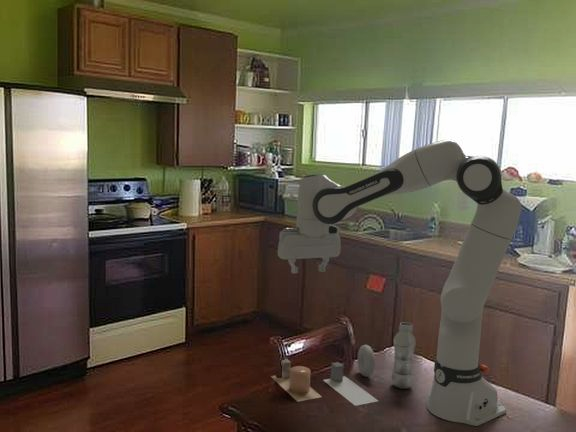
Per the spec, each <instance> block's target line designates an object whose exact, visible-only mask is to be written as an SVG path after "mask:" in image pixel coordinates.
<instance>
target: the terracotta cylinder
mask: <svg viewBox="0 0 576 432" xmlns="http://www.w3.org/2000/svg"><path fill="white" fill-rule="evenodd" d="M311 373H312V371H311V369H310V368H309V367H306V366H302V365H296V366H291V369H290V382H289V390H290V392H292V393H294V394H306V393H308V392H309V391H310V387H311Z"/></svg>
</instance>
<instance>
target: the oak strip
mask: <svg viewBox="0 0 576 432" xmlns="http://www.w3.org/2000/svg"><path fill="white" fill-rule="evenodd" d="M284 359H285V360H282V361H281V365H282V378H277V377H276V375H271V376H270V378H272V380H274V381H275V383H277V385H279V386H280V387H281V388H282V389H283V390H284V391H286V392H287V394H289V395H290V396H291V397H292V398H293V399H294V400H295V401H296V402H299V403H300V402H304V401H310V400H314V399H320V398H323V396H322V395H320V394H319V393H318V392H317V391H316V390H315V389H313V387H311V386H310V391H309V392H308V393H306V394H294V393H292V392H290V390H289V382H290V369H291V368H292V362H291V361H290V360H289V359H288V358H284Z"/></svg>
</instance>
